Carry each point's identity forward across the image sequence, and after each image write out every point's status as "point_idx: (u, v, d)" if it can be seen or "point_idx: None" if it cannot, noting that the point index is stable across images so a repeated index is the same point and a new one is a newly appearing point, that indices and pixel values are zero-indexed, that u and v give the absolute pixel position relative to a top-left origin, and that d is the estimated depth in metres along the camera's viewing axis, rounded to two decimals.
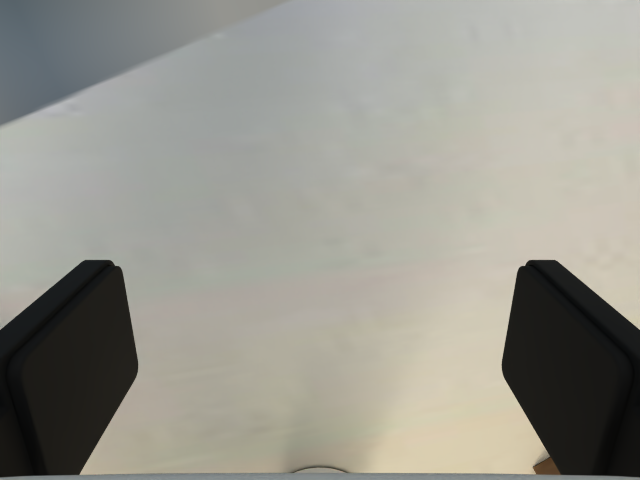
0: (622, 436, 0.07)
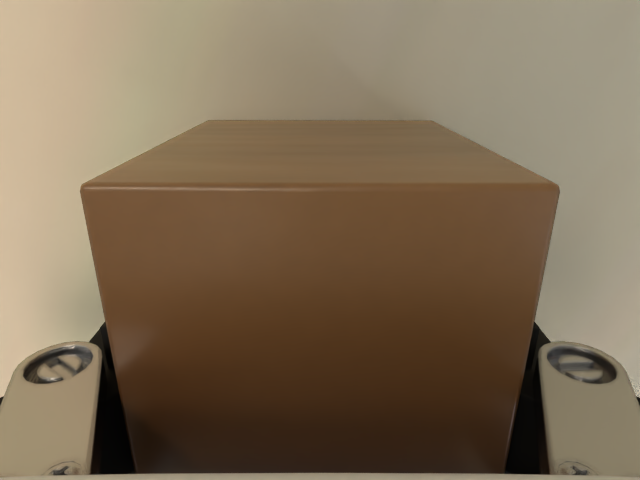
0: None
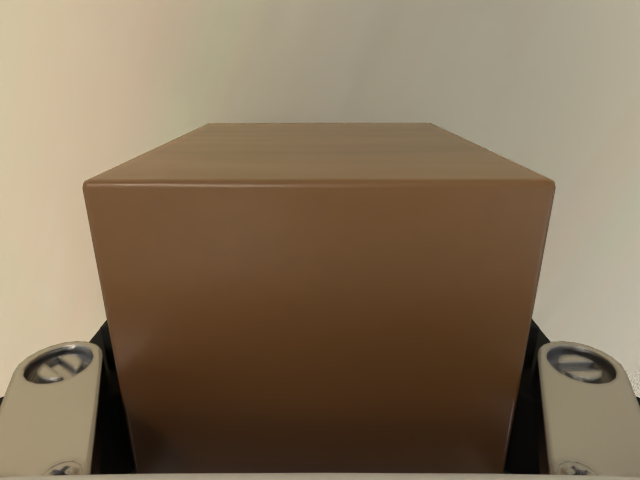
0: None
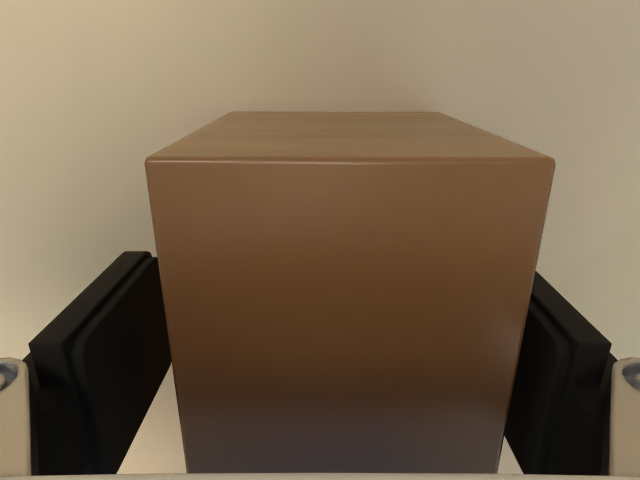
0: (562, 413, 0.07)
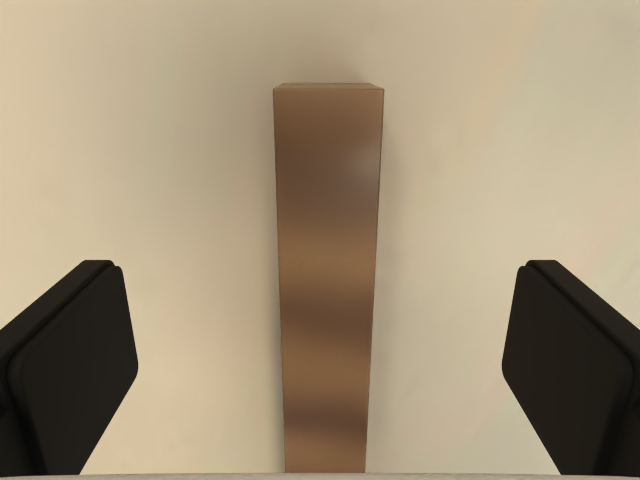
0: (622, 436, 0.07)
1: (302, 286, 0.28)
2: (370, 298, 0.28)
